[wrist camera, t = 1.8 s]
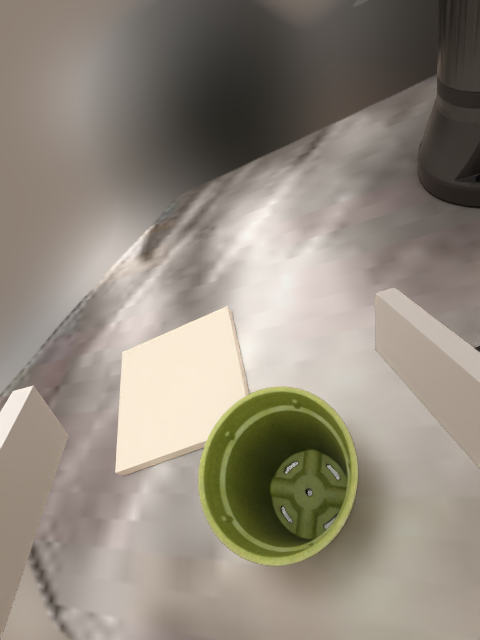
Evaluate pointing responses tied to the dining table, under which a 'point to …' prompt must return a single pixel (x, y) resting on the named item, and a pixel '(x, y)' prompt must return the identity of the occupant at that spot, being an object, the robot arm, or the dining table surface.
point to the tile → (177, 390)
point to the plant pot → (277, 476)
